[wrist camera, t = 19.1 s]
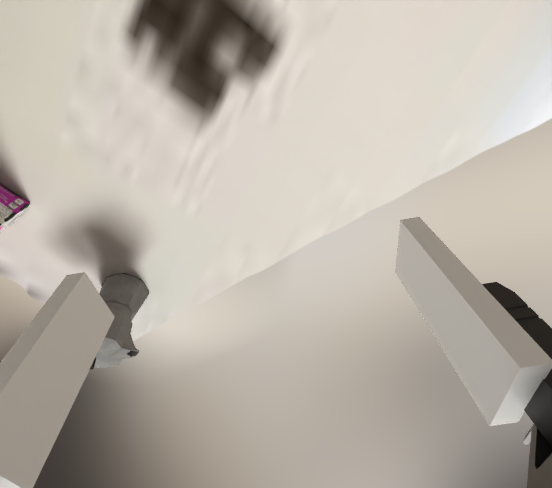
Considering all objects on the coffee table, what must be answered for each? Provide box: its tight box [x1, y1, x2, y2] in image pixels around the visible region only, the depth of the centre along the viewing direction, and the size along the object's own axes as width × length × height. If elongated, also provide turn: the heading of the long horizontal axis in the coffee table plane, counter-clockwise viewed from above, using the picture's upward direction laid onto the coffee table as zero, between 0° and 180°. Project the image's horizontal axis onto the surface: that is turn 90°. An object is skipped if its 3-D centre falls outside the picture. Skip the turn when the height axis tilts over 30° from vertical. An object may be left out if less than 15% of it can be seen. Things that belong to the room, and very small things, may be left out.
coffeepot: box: [90, 274, 149, 369], centre depth 56 cm, size 15×9×18 cm, turn 77°
